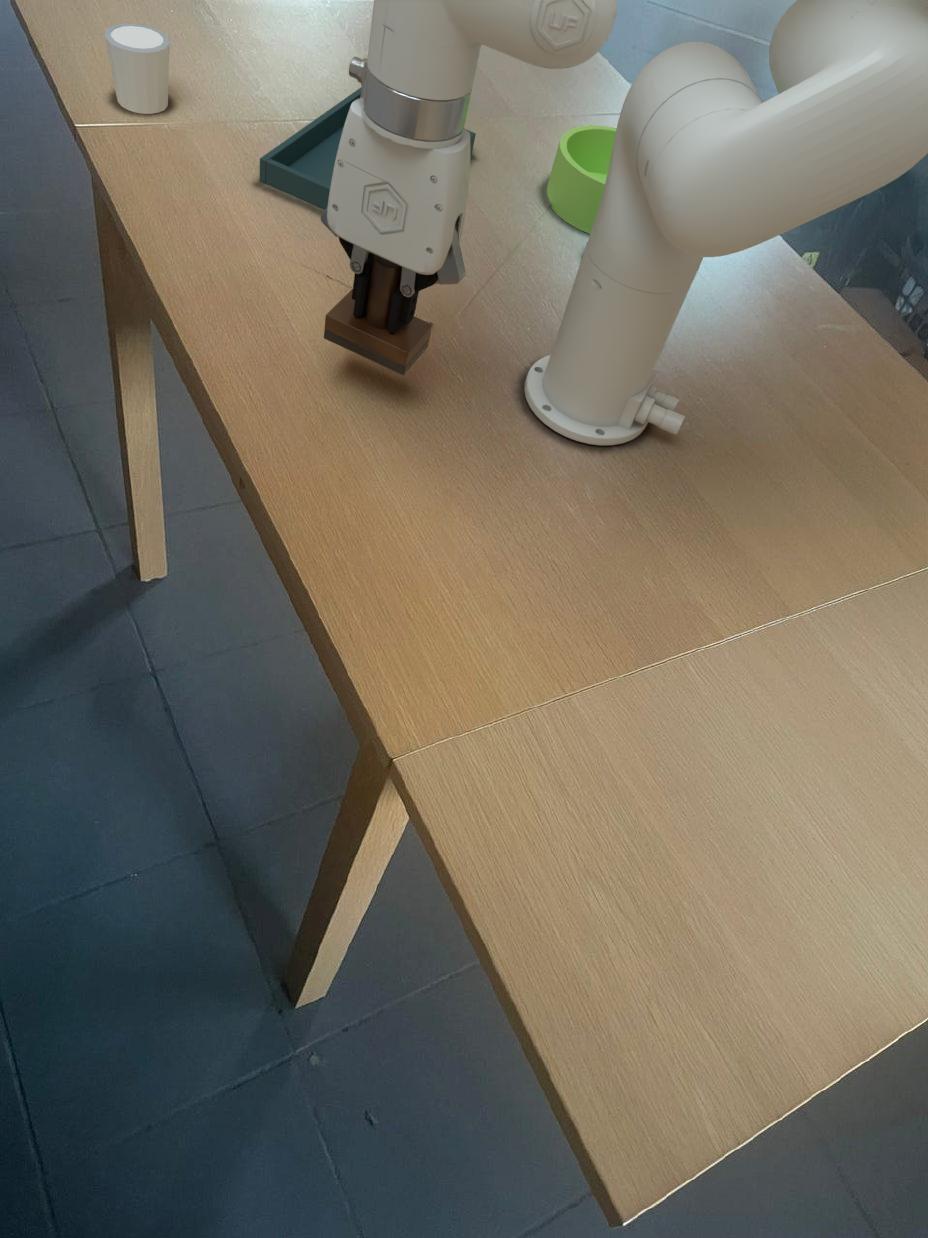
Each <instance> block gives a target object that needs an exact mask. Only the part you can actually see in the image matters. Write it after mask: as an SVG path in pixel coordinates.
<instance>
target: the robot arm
mask: <svg viewBox="0 0 928 1238" xmlns="http://www.w3.org/2000/svg"><path fill="white" fill-rule="evenodd" d="M618 5H619V3H618V0H373V6H372V15H371V23H370V24H371V25H370V32H369V41H368V51H367V58H365V57H364V58H360V57H358V56H353V57H352V59H351V60H350V62H349V65H348V66H349V67H348V75H349V77H350V78H353V79H355V80H357V82H358V83H359V84H360V88H361V96H360V98H359V99H357V100H355V101H354V102H352V104H351V106H350V109H349V112H348V115H347V118H346V121H345V124H344V128H343V132H342V135H341V139H340V143H339V147H338V151H337V155H336V160H335V165H334V170H333V175H332V181H331V187H330V193H329V200H328V206H327V208H326V209H325V210H324V209H323V210H324V211H323V212H322V213H321V215H320V221H321V223H322V225H324V226H325V227H326V228H327V229H328V230H329V231H330V232H331V233H332V235H334V237H336V238H338V241H339V243H340V245H341V247H342V248H343V250H344V252H345V253H346V255H347V257H348V258H349V260H350V261H349V268H350V270H351V272H353V273H354V275H353V276H354V277H353V283H352V289H353V291H352V299H353V300H355V305H354V312H353V315H354V316H356V317H358V318H360V317H363V316H364V315H365V314H366V307H367V300H368V293H369V286H370V279H371V272H372V265H373V258H374V254H375V255H378V256H380V257H382V258H384V259H386V260H389V261H391V262H393V263H395V264H397V265H400V266H402V274H401V283H400V285H399V288H397V289H396V290H395V291H394V293H393V295H392V301H391V307H390V313H389V319H388V325H387V330H388V332H390V333H392V334H395V333H396V332H397V331H398V330H399V329H400V328H401V327H402V326H403V324H404V323H405V324H407V325H408V324H409V323H410V322H411V320H412V319H413V317H414V316H415V314H416V309H417V303H418V299H419V294H420V293H419V292H420V291H423V290H426V289H427V288H430V287H432V286H434V285H438V284H439V285H458V284H459V283H460V282H461V281H462V280H463V278H465V277H466V274H467V273H466V266H465V262H464V258H463V254H462V248H461V244H460V241H461V239H462V234H463V228H464V223H465V218H466V210H467V203H468V195H469V185H470V174H471V155H470V133H469V132H468V131H467V130H468V129H467V130H466V128H465V125H466V120H467V115H468V114H467V113H468V110H469V105H470V102H471V101H470V100H471V95H472V91H473V87H474V83H475V77H476V72H477V68H478V67H477V66H478V63H479V58H480V52H481V49H482V48H481V46H485V47H488V48H490V49H492V50H495V51H497V52H500V53H501V54H504V55H506V56H509V57H511V58H513V59H517V60H519V61H522V62H524V63H526V64H529V65H532V66H536V67H539V68H543V69H548V70H564V69H570V68H574V67H578V66H579V65H582V64H584V63H585V62H587V61H589V60H590V59H592V58H593V57H594V56H595V55H597V53H599V51H600V50H602V48H603V47H604V45H605V44H606V42H607V41H608V39H609V38H610V35H611V34H612V31H613V29H614V25H615V23H616V19H617V14H618ZM768 65H769V70H770V73H771V77H772V80H773V82H774V86H775V88H776V91H777V93H778V94H777V95H775V96H773V97H771V98H769V99H767V100H765V101H764V100H763V99H762V97H761V96H760V94H759V92H758V90H757V88H756V86H755V84H754V83H753V81H752V80H751V78H750V75H748V73H747V71H746V70H745V68H744V67H743V66H742V65H741V64H740V62H739V61H738V60H737V58H735V57H734V56H732V55H731V54H730V53H729V52H728V51H726V50H725V49H723V48H722V47H719V46H717V45H715V44H712V43H707V42H703V41H687V42H681V43H678V44H675V45H672V46H670V47H668V48H666V49H664V50H663V51H660V52H659V53H658V54H657V55H655V56H654V57H653V58H652V59H650V60H649V62H647V63H646V64H645V66H644V67H643V68H642V69H641V70H640V72H639V73H638V74H637V76H636V77H635V78H634V81H632V83H631V86H630V87H629V90H628V91H627V93H626V96H625V98H624V101H623V103H622V107H621V110H620V113H619V117H618V121H617V125H616V128H617V129H616V134H615V138H614V143H613V148H612V153H611V159H610V164H609V169H608V173H607V178H606V182H605V186H604V190H603V194H602V198H601V201H600V205H599V208H598V211H597V215H596V218H595V221H594V224H593V227H592V230H591V233H590V234H589V237H588V240H587V242H586V245H585V248H584V251H583V255H582V257H581V259H580V260H581V261H580V263H579V266H578V270H577V273H576V275H575V279H574V282H573V285H572V288H571V291H570V294H569V297H568V301H567V303H566V307H565V310H564V313H563V315H562V319H561V322H560V325H559V328H558V331H557V334H556V337H555V340H554V344H553V346H552V350H551V353H550V354H547V355H545V356H543V357H541V358H539V359H538V360H537V361H535V362H534V363H533V364H532V365H531V367H530V369H529V370H528V372H527V375H526V378H525V381H524V389H523V390H524V397H525V399H526V402H527V404H528V406H529V408H530V409H531V411H532V412H533V413H534V415H535V416H536V417H537V418H538V419H539V420H540V421H541V422H542V423H543V424H544V425H546V426H547V427H549V428H550V429H551V430H553V432H556V433H557V434H560V435H561V436H564V437H565V438H568V439H570V440H573V441H576V442H579V443H583V444H587V445H592V446H593V445H594V446H616V445H621V444H625V443H628V442H631V441H632V440H635V438H637V437H638V436H640V435H641V434H642V433H643V432H644V430H645V429H646V427H647V425H648V423H649V424H652V425H654V426H656V427H658V428H659V429H660V430H663V431H665V432H668V433H669V434H672V435H674V436H677V435H678V433H679V431H680V429H681V427H682V424H683V423H684V419H685V418H686V416H685V415H683V414H681V413H678V412H676V411H675V409H676V407H677V405H678V403H679V401H680V399H679V398H677V397H674V396H672V395H670V394H666V393H664V392H662V391H659V390H658V386H655V385H653V384H654V382H655V379H656V378H657V374H658V370H656V369H655V368H656V366H657V363H658V361H659V359H660V357H661V354H662V352H663V350H664V347H665V346H666V343H667V340H668V338H669V336H670V334H671V332H672V329H673V327H674V325H675V323H676V320H677V318H678V316H679V313H680V311H681V309H682V307H683V305H684V302H685V300H686V297H687V295H688V293H689V291H690V289H691V287H692V284H693V282H694V281H695V278H696V276H697V273H698V271H699V269H700V267H701V264H702V262H703V259H704V258H718V257H724V256H728V255H729V256H730V255H732V254H737V253H739V252H742V251H744V250H745V251H746V250H748V249H751V248H753V247H755V246H758V245H760V244H763V243H764V242H767V241H769V240H771V239H774V238H776V237H778V236H781V235H783V234H784V233H787V232H789V231H791V230H793V229H795V228H797V227H799V226H802V225H804V224H807V223H809V222H810V221H813V220H815V219H817V218H819V217H821V216H823V215H826V214H829V213H830V212H832V211H833V212H834V210H837V209H839V208H841V207H844V206H845V205H848V204H849V203H852V202H854V201H856V200H858V199H860V198H862V197H865V196H867V195H870V194H871V193H873V192H875V191H877V190H879V189H881V188H883V187H885V186H886V185H888V184H890V183H891V182H894V181H896V180H897V179H899V178H900V177H901V176H902V175H904V174H906V173H907V172H908V171H909V170H911V169H912V168H914V166H915V165H917V164H918V163H919V162H920V161H921V160H922V159H923V158H924V157H926V156H927V155H928V0H795V1H794V2H793V3H792V4H791V5H790V6H789V7H788V8H787V9H786V10H785V12H784V13H783V14H782V15H781V17H780V18H779V20H778V21H777V24H776V26H775V27H774V30H773V33H772V35H771V38H770V42H769V47H768Z"/></svg>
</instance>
